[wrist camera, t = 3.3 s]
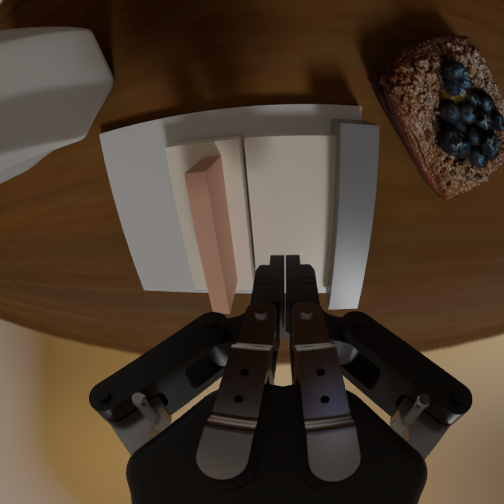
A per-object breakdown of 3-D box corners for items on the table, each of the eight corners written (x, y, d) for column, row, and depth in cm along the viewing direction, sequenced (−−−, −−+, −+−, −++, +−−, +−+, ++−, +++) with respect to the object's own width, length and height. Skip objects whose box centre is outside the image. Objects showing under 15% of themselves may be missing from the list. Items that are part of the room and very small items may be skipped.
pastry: (443, 23, 11) (485, 12, 6) (503, 143, 15) (544, 162, 10) (350, 79, 15) (377, 73, 10) (427, 202, 19) (461, 236, 15)
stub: (241, 135, 17) (226, 150, 13) (255, 278, 24) (248, 324, 19) (173, 143, 18) (138, 162, 13) (200, 277, 24) (182, 320, 20)
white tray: (361, 106, 16) (379, 109, 13) (347, 286, 25) (355, 316, 21) (104, 132, 19) (75, 143, 15) (147, 285, 27) (131, 311, 24)
